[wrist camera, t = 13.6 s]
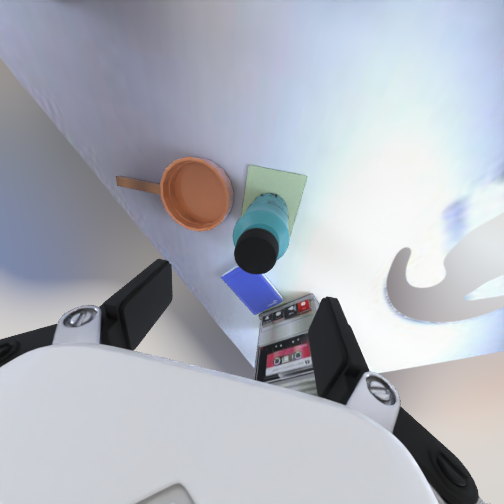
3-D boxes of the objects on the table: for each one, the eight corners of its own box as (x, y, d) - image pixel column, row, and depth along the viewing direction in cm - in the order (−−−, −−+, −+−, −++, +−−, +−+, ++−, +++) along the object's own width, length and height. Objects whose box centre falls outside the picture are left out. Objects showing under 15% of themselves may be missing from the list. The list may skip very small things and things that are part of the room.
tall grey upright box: (311, 291, 41) (347, 447, 19) (323, 311, 43) (370, 473, 20) (259, 313, 46) (237, 456, 23) (271, 329, 48) (263, 477, 25)
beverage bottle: (278, 230, 36) (275, 299, 18) (246, 217, 35) (210, 273, 18) (294, 198, 33) (308, 241, 15) (259, 183, 33) (231, 209, 15)
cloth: (238, 234, 38) (238, 235, 37) (249, 164, 32) (248, 164, 31) (287, 245, 37) (287, 246, 37) (307, 176, 31) (307, 176, 31)
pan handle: (122, 184, 34) (117, 185, 33) (120, 175, 33) (115, 176, 32) (165, 194, 34) (162, 195, 33) (165, 184, 33) (161, 185, 32)
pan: (171, 218, 38) (162, 223, 35) (170, 151, 33) (158, 150, 30) (229, 231, 38) (224, 237, 34) (237, 165, 32) (233, 165, 29)
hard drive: (283, 301, 41) (249, 260, 38) (254, 315, 44) (220, 278, 41) (283, 297, 43) (250, 256, 39) (254, 310, 46) (222, 274, 42)
